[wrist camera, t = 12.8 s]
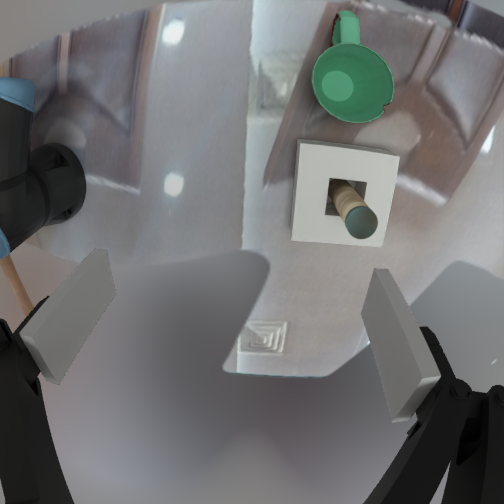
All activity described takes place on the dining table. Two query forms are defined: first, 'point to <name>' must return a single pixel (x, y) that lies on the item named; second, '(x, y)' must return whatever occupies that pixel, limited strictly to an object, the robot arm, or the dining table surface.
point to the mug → (351, 75)
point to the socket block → (340, 167)
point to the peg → (352, 209)
